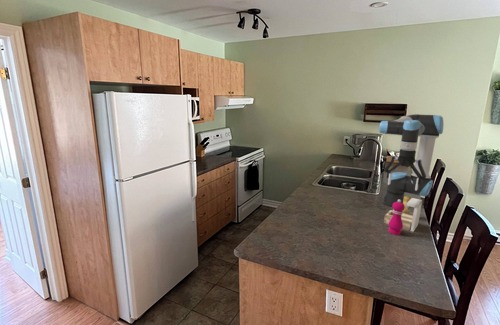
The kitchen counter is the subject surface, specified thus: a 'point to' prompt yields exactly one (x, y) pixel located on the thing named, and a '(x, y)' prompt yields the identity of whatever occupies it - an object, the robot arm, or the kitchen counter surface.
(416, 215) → the awning
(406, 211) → the peg
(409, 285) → the kitchen counter surface
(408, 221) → the socket block
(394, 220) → the pepper mill
